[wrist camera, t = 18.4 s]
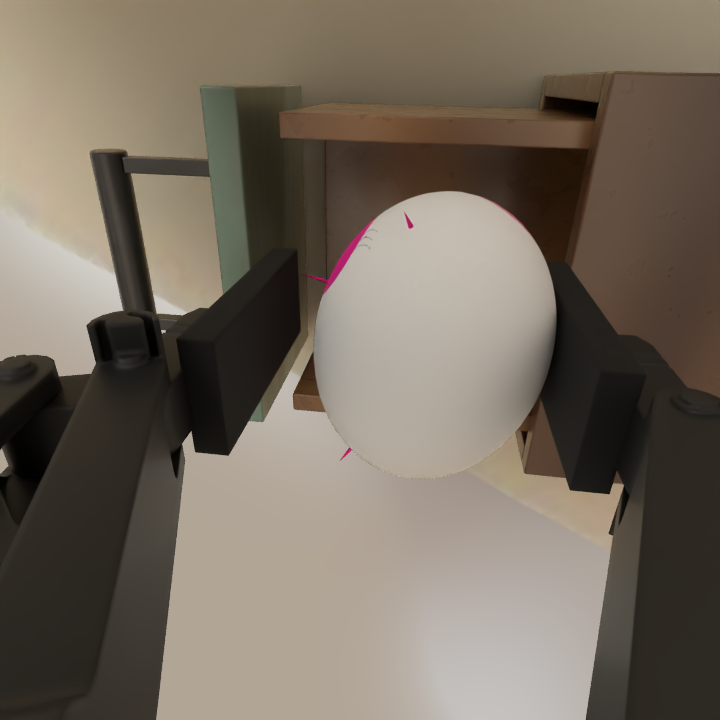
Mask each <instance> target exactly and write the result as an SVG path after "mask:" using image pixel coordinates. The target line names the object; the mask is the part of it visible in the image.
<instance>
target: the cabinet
mask: <svg viewBox="0 0 720 720" xmlns="http://www.w3.org/2000/svg"><path fill="white" fill-rule="evenodd" d="M539 109H561V110H597V114H596V119H595V124H594V128H593V133H592V138H591V142H590V147H589V151H588V156H587V161H586V165H585V170H584V175H583V179H582V184H581V189H580V193H579V198H578V203H577V207H576V212H575V216H574V221H573V226H572V230H571V235H570V240H569V244H568V249H567V254H566V258H565V263H567V264H568V265H569V267H570V268H571V269H572V271H573V272H574V274H575V275H576V276H577V278H578V279H579V280H580V282H581V283H582V285H583V286H584V287H585V289H586V290H587V292H588V293H589V294H590V296H591V297H592V299H593V300H594V301H595V303H596V304H597V306H598V307H599V308H600V310H601V311H602V313H603V314H604V315H605V317H606V318H607V320H608V321H609V322H610V324H611V325H612V327H613V328H614V329H615V331H616V332H617V334H621V335H636V336H638V337H639V338H641V339H643V340H644V341H646V342H648V343H649V344H651V345H653V346H654V347H655V349H656V350H657V351H658V352H659V353H660V355H661V356H662V359H664V360H665V361H666V362H667V363H668V364H669V368H672V369H673V371H674V372H675V373H676V374H677V375H678V377H679V378H680V379H681V380H682V381H683V383H684V384H685V385H686V386H687V388H693V389H697V390H700V391H703V392H707V393H710V394H712V395H714V396H716V397H719V398H720V73H675V72H624V71H613V72H596V73H580V74H565V75H549V76H545V78H544V82H543V88H542V94H541V100H540V106H539ZM515 433H516V438H517V442H518V447H519V452H520V456H521V460H522V465H523V470H524V473H525V474H532V475H542V476H552V477H561V478H566V476H565V473H564V470H563V467H562V464H561V461H560V458H559V454H558V451H557V448H556V445H555V442H554V439H553V436H552V432H551V429H550V426H549V423H548V420H547V417H546V414H545V410H544V407H543V404H542V401H541V398H540V395H539V396H538V398H537V400H536V402H535V404H534V407H533V411H532V416H531V421H530V425H529V430H528V431H517V430H516V432H515ZM613 483H619V484H623V482H622V480H621V478H620V476H619V474H618V472H616V475H615V478H614V482H613Z"/></svg>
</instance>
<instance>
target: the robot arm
mask: <svg viewBox="0 0 720 720" xmlns="http://www.w3.org/2000/svg"><path fill="white" fill-rule="evenodd" d="M546 264H547V266H548V269H549V272H550V276H551V279H552V283H553V288H554V294H555V302H556V319H557V325H556V338H555V345H554V350H553V356H552V360H551V363H550V367H549V371H548V375H547V377H546V380H545V382H544V385H543V388H542V390H541V393H540V394H539V395H540V398H541V401H542V404H543V407H544V410H545V414H546V417H547V420H548V423H549V426H550V429H551V432H552V436H553V439H554V442H555V445H556V448H557V451H558V454H559V458H560V461H561V464H562V467H563V470H564V473H565V476H566V480H567V483H568V486H569V489H570V490H573V491H582V492H592V493H602V494H610V491H611V488H612V485H613V482H614V478H615V475H616V472H618V474H619V476H620V478H621V480H622V482H623V485H624V488H623V491H622V494H621V497H620V500H619V503H618V506H617V509H616V512H615V515H614V518H613V521H612V524H611V527H610V531H609V534H610V535H613V541H612V547H611V554H610V561H609V568H608V575H607V581H606V588H605V594H604V601H603V608H602V614H601V621H600V628H599V635H598V641H597V648H596V654H595V661H594V668H593V674H592V681H591V688H590V695H589V701H588V708H587V714H586V720H720V398H719V397H716V396H714V395H712V394H710V393H707V392H703V391H700V390H697V389H693V388H687V386H686V385H685V384H684V383H683V381H682V380H681V379H680V378H679V377H678V375H677V374H676V373H675V372H674V371H673V369H672V368H669V364H668V363H667V362H666V361H665V360H664V359H662V356H661V355H660V353H659V352H658V351H657V350H656V349H655V347H654V346H653V345H651V344H649V343H648V342H646V341H644V340H643V339H641V338H639V337H638V336H636V335H621V334H617V332H616V331H615V329H614V328H613V327H612V325H611V324H610V322H609V321H608V320H607V318H606V317H605V315H604V314H603V313H602V311H601V310H600V308H599V307H598V306H597V304H596V303H595V301H594V300H593V299H592V297H591V296H590V294H589V293H588V292H587V290H586V289H585V287H584V286H583V285H582V283H581V282H580V280H579V279H578V278H577V276H576V275H575V274H574V272H573V271H572V269H571V268H570V267H569V265H568V264H567V263H559V262H546ZM87 330H88V333H89V337H90V341H91V345H92V349H93V353H94V357H95V361H96V365H95V367H94V369H93V372H92V374H84V375H72V376H60V377H59V376H58V372H57V369H56V366H55V362H54V360H53V359H51V358H49V357H47V356H40V355H29V356H26V355H18V356H16V357H14V356H13V357H9V358H6V359H4V360H3V361H0V449H1V448H2V450H3V452H4V455H5V457H6V460H7V462H8V465H9V466H8V467H7V468H6V469H5V470H4V471H3V472H2V473H1V474H0V720H156V714H157V707H158V698H159V689H160V680H161V671H162V662H163V652H164V644H165V635H166V626H167V617H168V608H169V600H170V589H171V582H172V573H173V572H172V571H173V564H174V555H175V546H176V537H177V527H178V519H179V510H180V500H181V492H182V483H183V474H184V465H185V457H184V452H183V446H182V443H183V441H184V440H185V439H186V437H187V436H188V434H189V433H190V432H191V431H192V437H193V442H194V448H195V452H198V453H208V454H218V455H229V454H230V452H231V451H232V449H233V447H234V445H235V444H236V442H237V440H238V438H239V437H240V435H241V433H242V432H243V430H244V428H245V426H246V425H247V423H248V421H249V420H250V418H251V416H252V414H253V413H254V411H255V409H256V407H257V406H258V404H259V402H260V401H261V399H262V397H263V395H264V394H265V392H266V390H267V389H268V387H269V385H270V383H271V382H272V380H273V378H274V376H275V375H276V373H277V371H278V370H279V368H280V366H281V364H282V363H283V361H284V359H285V358H286V356H287V354H288V352H289V351H290V349H291V347H292V346H293V344H294V342H295V340H296V339H297V337H298V335H299V333H300V332H301V320H300V298H299V275H298V253H297V249H288V248H272V249H271V250H270V251H269V252H268V253H267V254H266V255H265V256H264V257H263V258H262V259H261V260H259V261H258V262H257V263H256V264H255V265H254V266H253V267H252V268H251V269H250V270H249V271H248V272H247V273H246V274H245V275H244V276H243V277H241V278H240V279H239V280H238V281H237V282H236V283H235V284H234V285H233V286H232V287H231V288H230V289H229V290H228V291H227V292H226V293H224V294H223V295H222V296H221V297H220V298H219V299H218V300H217V301H216V302H215V303H214V304H213V305H212V306H211V307H210V308H209V309H208V308H199V309H196V310H194V311H192V312H189V313H187V314H185V315H183V316H182V317H181V318H180V319H179V320H177V321H176V322H175V323H174V326H173V325H172V326H171V327H169V328H168V329H167V330H166V333H163V334H162V332H161V327H160V321H159V317H158V315H156V314H155V313H153V312H150V311H144V310H125V311H119V312H113V313H109V314H106V315H102V316H100V317H98V318H96V319H94V320H92V321H91V322H90V323H89V324H87Z"/></svg>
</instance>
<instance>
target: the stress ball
mask: <svg viewBox="0 0 720 720" xmlns="http://www.w3.org/2000/svg"><path fill="white" fill-rule="evenodd" d="M302 275H304V274H302ZM305 276H308V275H305ZM308 277H311V278H313V279H316V280H319V281H322V282H325V283H327V285H326V287H325V290H324V293H323V296H322V299H321V302H320V306H319V310H318V314H317V319H316V325H315V333H314V350H313V354H314V369H315V376H316V382H317V387H318V391H319V395H320V398H321V401H322V404H323V406H324V409H325V411H326V413H327V415H328V418H329V420H330V422H331V423H332V425H333V427H334V428H335V430H336V432H337V433H338V434H339V436H340V437H341V438H342V440H343V441H344V442H345V443H346V444H347V446H348V447H349V449H348V450H347V452H346V453H345V454H344V456H343V457H342V459H343V458H344V457H345V456H346V455H347V454H348V453H349V452H350V451H351V450H352V451H354V452H355V453H356V454H357V455H358V456H359V457H360V458H361V459H363V460H365V461H366V462H367V463H369V464H370V465H372V466H374V467H376V468H378V469H380V470H382V471H384V472H387V473H390V474H393V475H396V476H400V477H406V478H412V479H430V478H439V477H444V476H448V475H452V474H455V473H458V472H461V471H463V470H466V469H468V468H470V467H472V466H474V465H476V464H477V463H479V462H481V461H482V460H484V459H486V458H487V457H488V456H490V455H491V454H493V453H494V452H495V451H496V450H497V449H499V448H500V447H501V446H502V445H503V444H504V443H505V442H506V441H507V440H508V439H509V438H510V437H511V436H512V435H513V434H514V433H515V432H516V430H517V429H518V428H519V427H520V426H521V424H522V423H523V421H524V420H525V418H526V417H527V415H528V414H529V412H530V411H531V409H532V408H533V406H534V404H535V402H536V400H537V398H538V396H539V394H540V393H541V390H542V388H543V385H544V382H545V380H546V377H547V375H548V371H549V367H550V363H551V360H552V356H553V350H554V345H555V338H556V325H557V319H556V302H555V294H554V288H553V283H552V279H551V276H550V272H549V269H548V266H547V264H546V261H545V259H544V256H543V254H542V252H541V250H540V248H539V247H538V245H537V244H536V242H535V240H534V239H533V237H532V236H531V234H530V233H529V232H528V231H527V229H526V228H525V227H524V226H523V224H522V223H521V222H520V221H519V220H517V219H516V218H515V217H514V216H513V215H512V214H511V213H509V212H508V211H506V210H505V209H504V208H502V207H501V206H499V205H498V204H496V203H494V202H492V201H490V200H488V199H485V198H483V197H480V196H476V195H472V194H468V193H464V192H454V191H443V192H433V193H426V194H423V195H419V196H416V197H413V198H410V199H407V200H405V201H402V202H400V203H398V204H396V205H395V206H393V207H391V208H389V209H388V210H386V211H384V212H383V213H382V214H380V215H379V216H378V217H376V218H375V219H374V220H372V221H371V222H370V223H369V224H368V225H367V226H366V227H365V228H364V229H363V230H362V231H361V232H360V233H359V234H358V235H357V236H356V237H355V238H354V239H353V241H352V242H351V243H350V244H349V246H348V247H347V248H346V250H345V251H344V253H343V254H342V256H341V257H340V259H339V261H338V262H337V264H336V266H335V268H334V270H333V272H332V273H331V276H330V278H329V280H326V279H321V278H317V277H313V276H308Z"/></svg>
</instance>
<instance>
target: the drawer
mask: <svg viewBox="0 0 720 720" xmlns="http://www.w3.org/2000/svg"><path fill="white" fill-rule="evenodd" d="M200 91H201V100H202V109H203V118H204V127H205V136H206V145H207V153H208V159H198V158H173V157H149V156H128V154H127V151H126V150H123V149H97V150H92V151H90V158H91V162H92V167H93V172H94V176H95V181H96V186H97V190H98V195H99V200H100V204H101V209H102V214H103V218H104V223H105V228H106V232H107V237H108V242H109V246H110V251H111V256H112V260H113V265H114V270H115V274H116V279H117V284H118V288H119V293H120V298H121V302H122V307H123V311H125V310H144V311H150V312H153V313H155V314H156V315H158V317H159V321H160V327H161V330H167V329H168V328H169V327H171V326H172V325H173V326H174V323H175V322H176V321H177V320H179V319H180V318H181V317H182V316H181V315H169V314H157V313H156V308H155V302H154V297H153V291H152V286H151V280H150V275H149V269H148V264H147V258H146V253H145V247H144V242H143V236H142V231H141V225H140V220H139V214H138V209H137V203H136V198H135V192H134V187H133V181H132V176H131V173H137V174H159V175H182V176H204V177H210V180H211V189H212V198H213V207H214V216H215V224H216V233H217V242H218V251H219V260H220V269H221V278H222V286H223V294H224V293H226V292H227V291H228V290H229V289H230V288H231V287H232V286H233V285H234V284H235V283H236V282H237V281H238V280H239V279H240V278H241V277H243V276H244V275H245V274H246V273H247V272H248V271H249V270H250V269H251V268H252V267H253V266H254V265H255V264H256V263H257V262H258V261H259V260H261V259H262V258H263V257H264V256H265V255H266V254H267V253H268V252H269V251H270V250H271V249H272V248H288V249H297V253H298V275H299V298H300V320H301V332H300V333H299V335H298V337H297V339H296V340H295V342H294V344H293V346H292V347H291V349H290V351H289V352H288V354H287V356H286V358H285V359H284V361H283V363H282V364H281V366H280V368H279V370H278V371H277V373H276V375H275V376H274V378H273V380H272V382H271V383H270V385H269V387H268V389H267V390H266V392H265V394H264V395H263V397H262V399H261V401H260V402H259V404H258V406H257V407H256V409H255V411H254V413H253V414H252V416H251V418H250V420H249V421H256V422H263V421H264V419H265V418H266V416H267V414H268V412H269V410H270V408H271V406H272V404H273V402H274V400H275V398H276V396H277V395H278V393H279V391H280V389H281V387H282V385H283V383H284V381H285V379H286V377H287V375H288V374H289V372H290V370H291V368H292V366H293V364H294V362H295V360H296V358H297V356H298V354H299V352H300V351H301V349H302V347H303V345H304V343H305V341H306V339H307V337H308V307H307V276H305V275H307V274H306V241H305V209H304V176H303V143H302V139H303V140H325V193H326V280H329V278H330V276H331V273H332V272H333V270H334V268H335V266H336V264H337V262H338V261H339V259H340V257H341V256H342V254H343V253H344V251H345V250H346V248H347V247H348V246H349V244H350V243H351V242H352V241H353V239H354V238H355V237H356V236H357V235H358V234H359V233H360V232H361V231H362V230H363V229H364V228H365V227H366V226H367V225H368V224H369V223H370V222H371V221H372V220H374V219H375V218H376V217H378V216H379V215H380V214H382V213H383V212H384V211H386V210H388V209H389V208H391V207H393V206H395V205H396V204H398V203H400V202H402V201H405V200H407V199H410V198H413V197H416V196H419V195H423V194H426V193H433V192H443V191H454V192H464V193H468V194H472V195H476V196H480V197H483V198H485V199H488V200H490V201H492V202H494V203H496V204H498V205H499V206H501V207H502V208H504V209H505V210H506V211H508V212H509V213H511V214H512V215H513V216H514V217H515V218H516V219H517V220H519V221H520V222H521V223H522V224H523V226H524V227H525V228H526V229H527V231H528V232H529V233H530V234H531V236H532V237H533V239H534V240H535V242H536V244H537V245H538V247H539V248H540V250H541V252H542V254H543V256H544V259H545V261H546V262H559V263H565V258H566V254H567V249H568V244H569V240H570V235H571V230H572V226H573V221H574V216H575V212H576V207H577V203H578V198H579V193H580V189H581V184H582V179H583V175H584V170H585V165H586V161H587V156H588V151H589V147H590V142H591V138H592V133H593V128H594V124H595V119H596V114H597V110H561V109H525V108H489V107H453V106H417V105H381V104H345V103H326V104H321V105H316V106H310V107H305V108H301V86H300V85H205V86H201V87H200ZM302 274H304V275H302ZM293 405H294V409H296V410H307V411H318V412H326V411H325V409H324V406H323V404H322V401H321V398H320V395H319V391H318V387H317V382H316V376H315V369H314V354H313V353H312V355H311V357H310V359H309V361H308V364H307V366H306V368H305V370H304V372H303V374H302V376H301V379H300V381H299V383H298V385H297V387H296V389H295V391H294V393H293ZM533 407H534V406H533ZM532 411H533V408H532V409H531V411H530V412H529V414H528V415H527V417H526V418H525V420H524V421H523V423H522V424H521V426H520V427H519V428H518V429H517V431H528V430H529V425H530V421H531V416H532Z"/></svg>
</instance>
